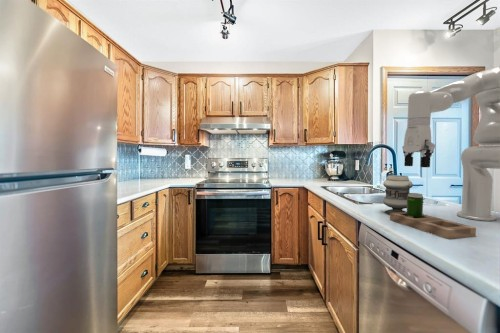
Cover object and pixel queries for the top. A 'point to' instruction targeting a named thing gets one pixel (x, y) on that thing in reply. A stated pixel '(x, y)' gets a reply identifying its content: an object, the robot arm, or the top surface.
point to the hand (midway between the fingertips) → (416, 166)
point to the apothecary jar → (396, 193)
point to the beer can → (415, 205)
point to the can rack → (435, 225)
